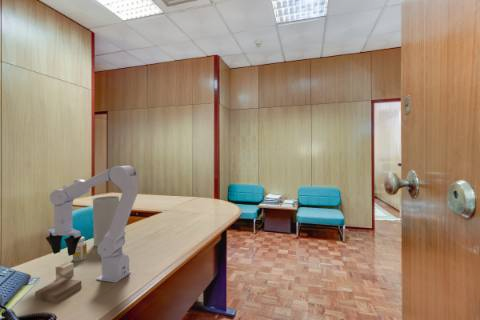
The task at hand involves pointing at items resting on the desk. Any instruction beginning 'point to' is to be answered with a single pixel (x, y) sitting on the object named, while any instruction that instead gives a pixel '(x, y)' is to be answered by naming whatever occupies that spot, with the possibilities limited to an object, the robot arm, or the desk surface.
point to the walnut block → (58, 290)
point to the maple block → (64, 270)
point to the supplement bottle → (80, 250)
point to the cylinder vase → (103, 216)
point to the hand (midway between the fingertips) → (64, 253)
